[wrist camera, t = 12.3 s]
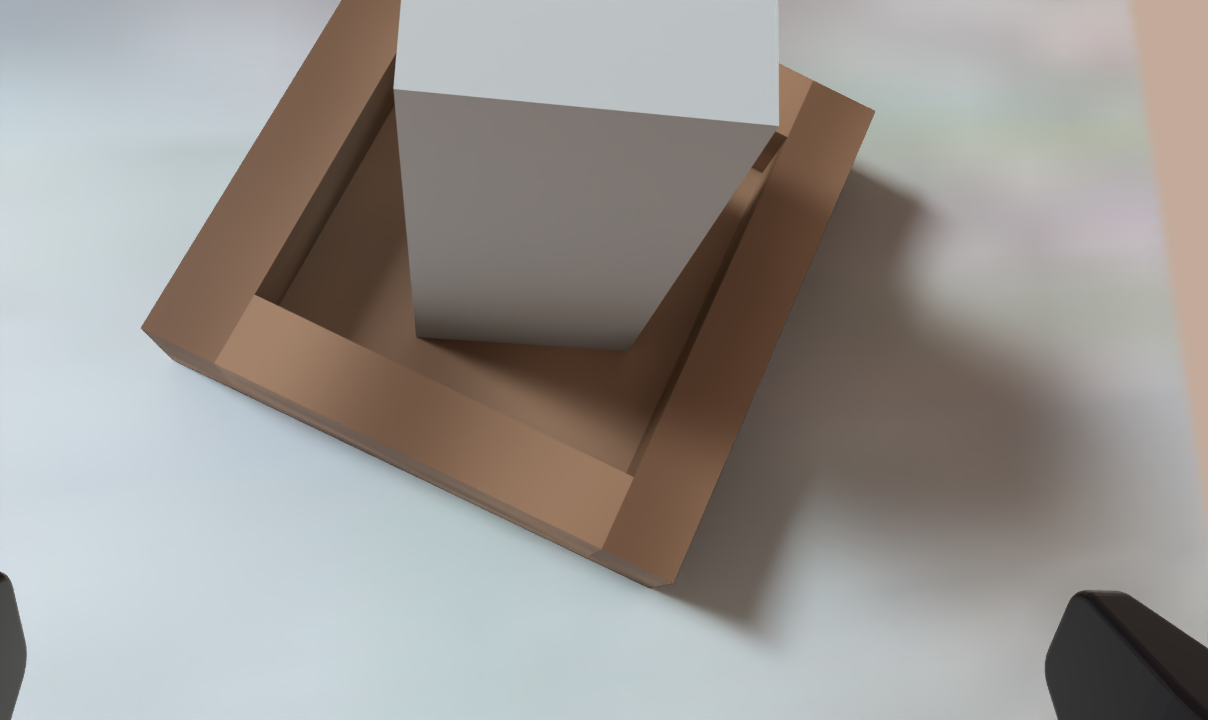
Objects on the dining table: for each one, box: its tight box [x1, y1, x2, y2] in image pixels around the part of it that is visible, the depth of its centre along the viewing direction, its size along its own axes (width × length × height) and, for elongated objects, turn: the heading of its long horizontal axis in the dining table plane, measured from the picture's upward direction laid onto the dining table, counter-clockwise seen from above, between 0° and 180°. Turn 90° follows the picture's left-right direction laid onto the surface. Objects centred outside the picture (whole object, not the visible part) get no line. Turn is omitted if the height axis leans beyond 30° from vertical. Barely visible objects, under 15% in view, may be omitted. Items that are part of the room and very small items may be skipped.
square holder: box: [141, 0, 875, 588], centre depth 23 cm, size 11×11×2 cm
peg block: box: [393, 0, 779, 351], centre depth 19 cm, size 4×4×11 cm
